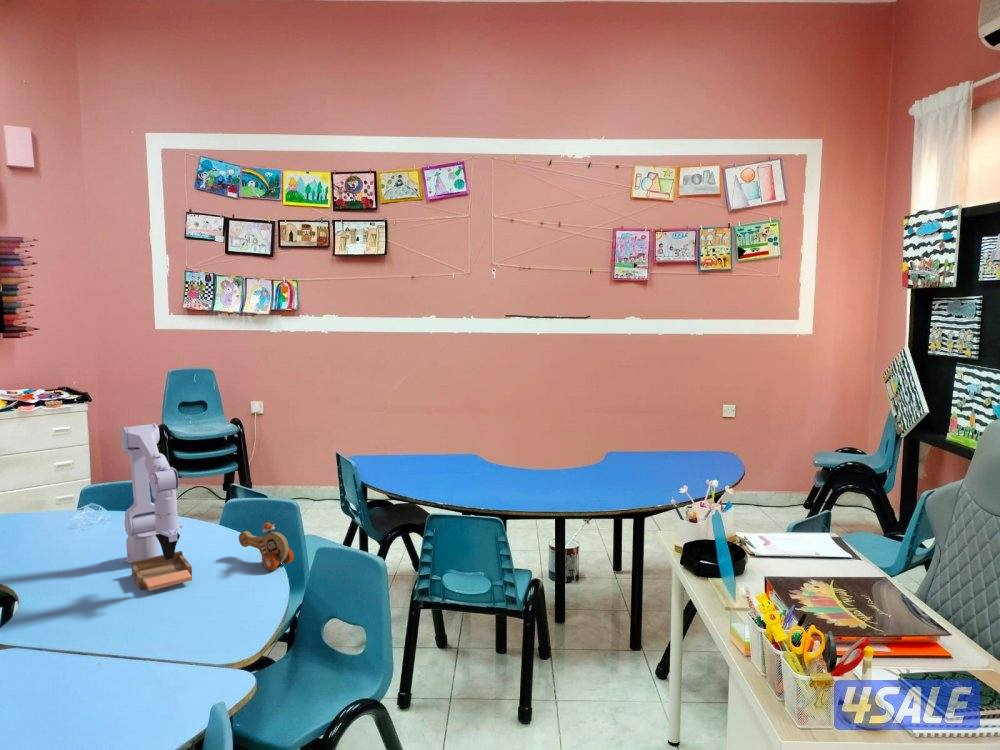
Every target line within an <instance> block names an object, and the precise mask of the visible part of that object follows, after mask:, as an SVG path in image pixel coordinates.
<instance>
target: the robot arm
mask: <svg viewBox="0 0 1000 750" xmlns="http://www.w3.org/2000/svg"><path fill="white" fill-rule="evenodd" d="M160 438H161V437H160V428H159V426H158V425H157V424H156V423H155V422H154V423H153V422H152V423H150V424H149V423H148V424H141V425H132V426H123V427H121V429H120V433H119V439H120V440H119V441H120V448H121V451H122V453H127V454H128V457H129V463H130V475H131V484H132V494H133V496H132V497H133V504H131V506H130V507H129V508H128V509H126V511H124V512H125V513H124V530H125V532H126V535H127V538H126V543H125V544H126V558H125V559H124V562H126V563H129V564H131V562H132V561H136V560H141V559H146V558H150V557H155V556H160V554H159V553H160V552H159V550H160V549H159V545H160V547H161V551H162V555H164V558H165V559H166V560H167V559H172V558H174V553H175V552H176V546H177V545H178V541H179V539H180V537H181V535H180V533H179V532H178V531H179V530H180V529H182V528H183V527H184V525H183V523H179V515H178V514H179V513H178V500H177V489H179V485H180V479H179V474H178V471H177V469H176V468H174V467H173V466H170V464H169V462H168V459H167V457H166V455H164V454H163V453H161V452H159V451H160V450H159V448H158V445H157V444H159V441H160ZM150 490H151V491H150ZM151 496H152V498H153V502H152V500H151Z"/></svg>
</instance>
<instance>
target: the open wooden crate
mask: <svg viewBox="0 0 1000 750" xmlns="http://www.w3.org/2000/svg"><path fill="white" fill-rule="evenodd" d="M130 564H131V565H130V566H131V567H130V568H131V576H132V578H133V580H134V582H135V583H136V585H137V587H138V589H139V591H144V590H146V589H147V587H146V585H145V579H149V578H154V577H158V576H162V575H166V574H171V573H175V572H179V571H184V570H188V572H189V573H190V575H191V576H192V577H193V569H192V565H191V564H190V562H188V560H187V559H186V557H185V556H184V554H183V551H182V550H178V551H175V553H174V558H172V559H167V560H166V559H165V558H164V555H163V554H159V556H155V557H150V558H146V559H141V560H136V561H132V562H131V563H130ZM147 590H148V589H147Z"/></svg>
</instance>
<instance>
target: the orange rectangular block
mask: <svg viewBox="0 0 1000 750" xmlns="http://www.w3.org/2000/svg"><path fill="white" fill-rule="evenodd" d="M191 581H193V575H192V576H191V575H190V573H189V572H188V570H184V571H179V572H175V573H171V574H166V575H162V576H158V577H154V578H149V579H145V585H146V587H147V590H148V591H154V590H159V589H163V588H166V587H167V588H168V587H171V586H174V585H178V584H183V583H187V582H188V583H189V582H191Z"/></svg>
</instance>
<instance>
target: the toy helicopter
mask: <svg viewBox="0 0 1000 750" xmlns="http://www.w3.org/2000/svg"><path fill="white" fill-rule="evenodd" d="M275 526H276V524H275V523H273V524H271V522H266V523H264V525H263V528H262V529H261V531H262V533H263V534H264V535H263V536H262V537H260V536H256V535H253V534H252V533H251V532H250V531H247V530H245V531H241V532H240V534H239V535H238V542H239V544H240V545H241V546H242V547H243V548H248V547H253V548H256V549H257V550H259V553H260V556H261V561H262V563H263V565H264V569H266V570H267V571H270V572H272V571H274V570H276V569H277V568H278V567H279V565H280V564H282V563H283V564H286V565H287V564H289V563H292V562H293V561H294V558H295V555H294V552H293V550H292V548H290V547H289V542H288V539H287V538H286V536H285V535H283V533H281V532H278V531H273V530H275V528H276V527H275Z"/></svg>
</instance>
